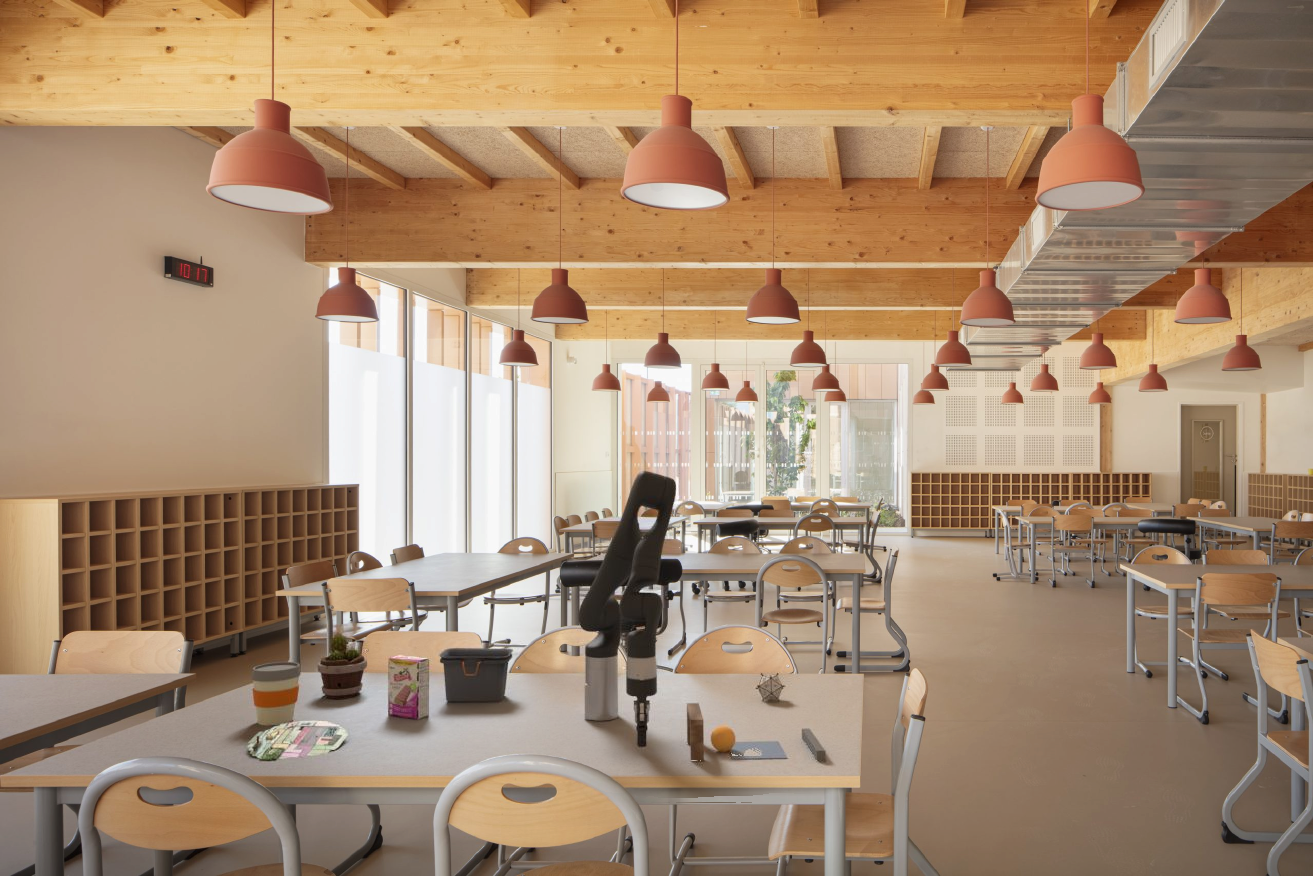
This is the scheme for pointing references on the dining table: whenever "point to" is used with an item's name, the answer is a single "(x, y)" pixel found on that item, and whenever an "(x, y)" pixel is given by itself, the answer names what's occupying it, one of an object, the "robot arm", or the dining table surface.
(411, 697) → the candy bar box
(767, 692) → the game die
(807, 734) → the stopper
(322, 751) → the city model
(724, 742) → the ball
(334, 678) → the flowerpot
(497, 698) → the storage bin
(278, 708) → the reusable coffee cup
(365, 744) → the dining table surface
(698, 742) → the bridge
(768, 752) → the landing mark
